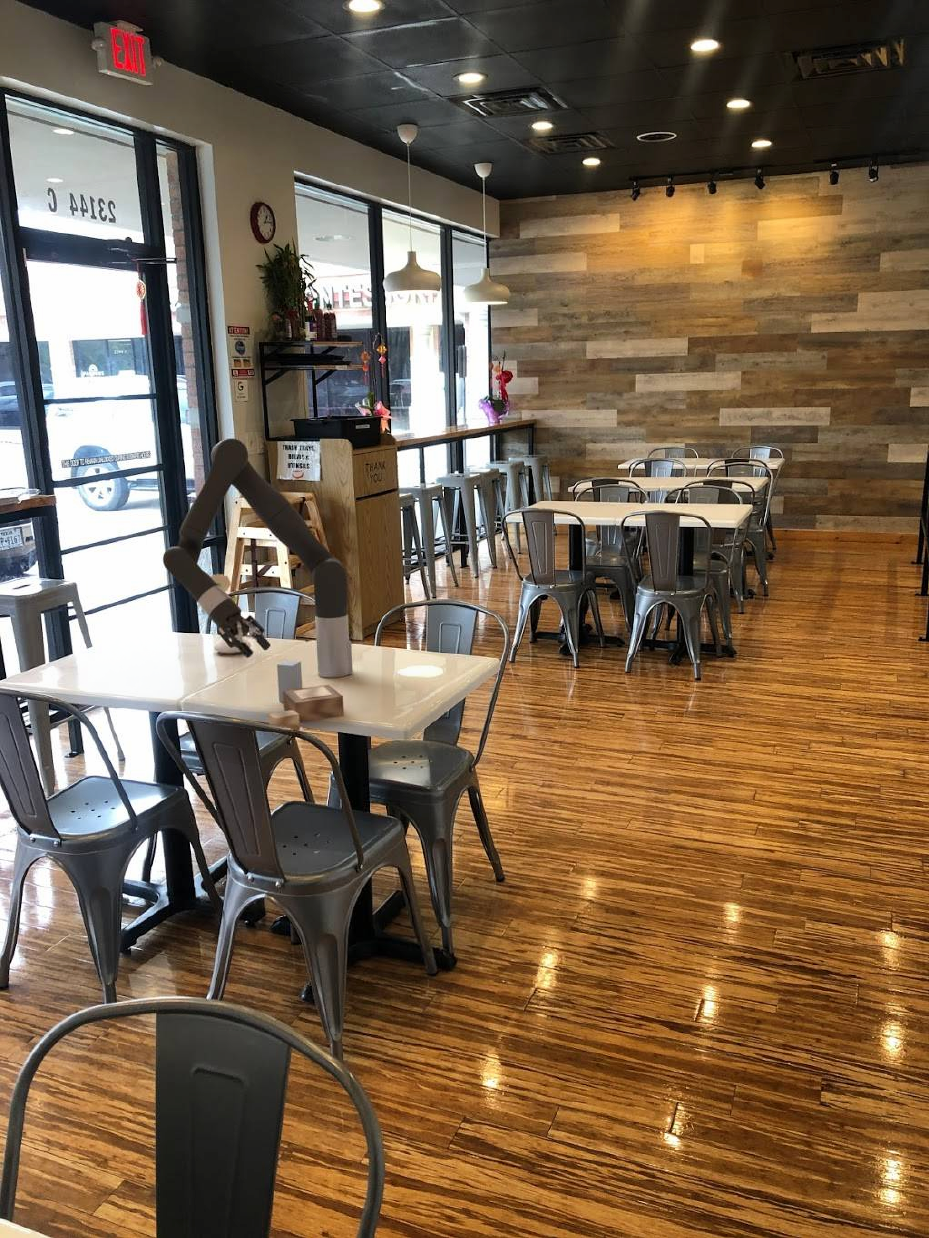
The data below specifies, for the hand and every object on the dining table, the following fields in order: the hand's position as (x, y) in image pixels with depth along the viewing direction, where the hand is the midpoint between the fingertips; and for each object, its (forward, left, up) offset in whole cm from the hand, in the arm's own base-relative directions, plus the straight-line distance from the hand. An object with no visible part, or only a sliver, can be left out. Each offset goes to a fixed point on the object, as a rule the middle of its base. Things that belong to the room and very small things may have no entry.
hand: (259, 651), depth 276 cm
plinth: (-8, +20, -12) cm, 25 cm away
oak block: (+2, +30, -13) cm, 33 cm away
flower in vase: (-3, -56, -13) cm, 57 cm away
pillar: (-6, +6, -12) cm, 15 cm away
